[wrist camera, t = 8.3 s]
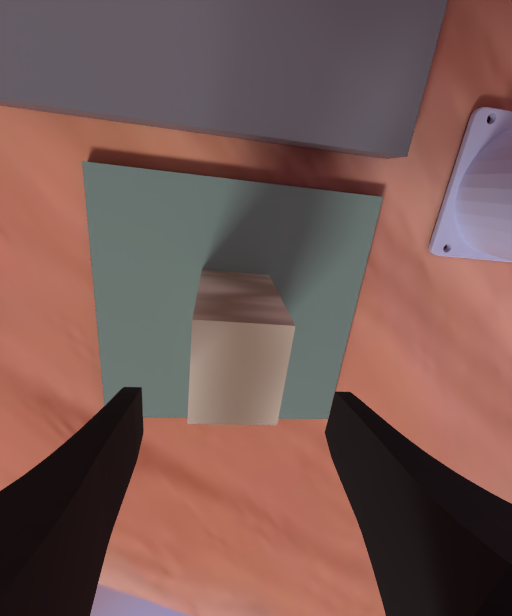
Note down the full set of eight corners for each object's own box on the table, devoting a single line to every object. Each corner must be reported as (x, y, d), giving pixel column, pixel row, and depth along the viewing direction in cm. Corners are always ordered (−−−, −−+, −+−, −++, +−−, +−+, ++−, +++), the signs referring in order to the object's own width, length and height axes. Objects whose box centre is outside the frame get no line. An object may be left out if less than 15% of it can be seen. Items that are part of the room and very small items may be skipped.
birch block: (268, 275, 19) (295, 326, 12) (258, 347, 20) (277, 425, 14) (201, 269, 18) (191, 319, 12) (197, 344, 20) (187, 423, 13)
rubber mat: (378, 196, 18) (383, 196, 18) (325, 413, 24) (327, 418, 23) (87, 161, 16) (82, 161, 15) (108, 411, 22) (105, 417, 21)
